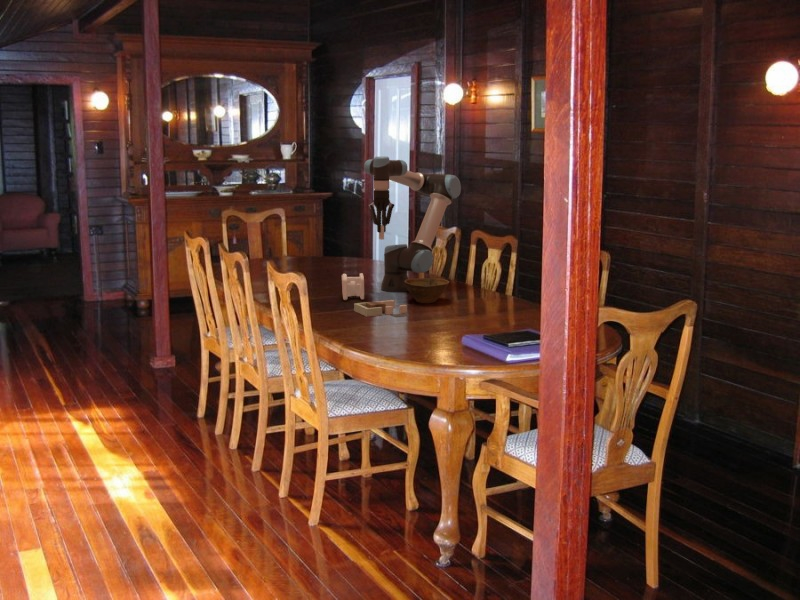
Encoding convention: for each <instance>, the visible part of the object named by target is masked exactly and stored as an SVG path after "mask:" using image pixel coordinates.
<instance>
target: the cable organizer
mask: <svg viewBox="0 0 800 600" xmlns="http://www.w3.org/2000/svg"><path fill="white" fill-rule="evenodd" d="M341 286H342V288H341V289H342V290H341V291H342V292H341V293H342V299H343V300H344V301H347V300H348V299H349V298H348V297H353V296H354V297H355V296H356V297H360V300H361V301H363V300H365V278H364V273H363V272H361V273H360V272H359V276H348V275H347V274H346V273H342V274H341Z"/></svg>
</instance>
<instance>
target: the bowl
mask: <svg viewBox="0 0 800 600" xmlns="http://www.w3.org/2000/svg"><path fill="white" fill-rule="evenodd" d="M404 282H405V285H406V287H407V289H408V293H409V294H410V295H411V296H412V297H413V299H414V300H415V301H416V302H417V303H421V304H431V303H436V301H438V300H439V298H440V297H441V296H442V294H443V293H444V292H445V291H446V290H447V288H448V286H449V284H450V281H449V280H447V279H444V278H436V277H432V278H426V277H425V278H408V279H407V280H405V281H404Z"/></svg>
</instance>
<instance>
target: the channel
mask: <svg viewBox="0 0 800 600" xmlns="http://www.w3.org/2000/svg"><path fill="white" fill-rule="evenodd" d="M376 302H383V303H385V304H386V307H385V313H384V314H385V315H386V316H387V315H388V316H389V315H390V316H391V315H393V314H394V310H393V309H396V300H394V299H391V300H381V301H380V300H379V301H378V300H377V301H376ZM398 308H399V309H398V311H399V313H398V314H403V313H405V314H408V313H407V312H408V305H407V304H401V305H399V307H398Z"/></svg>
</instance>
